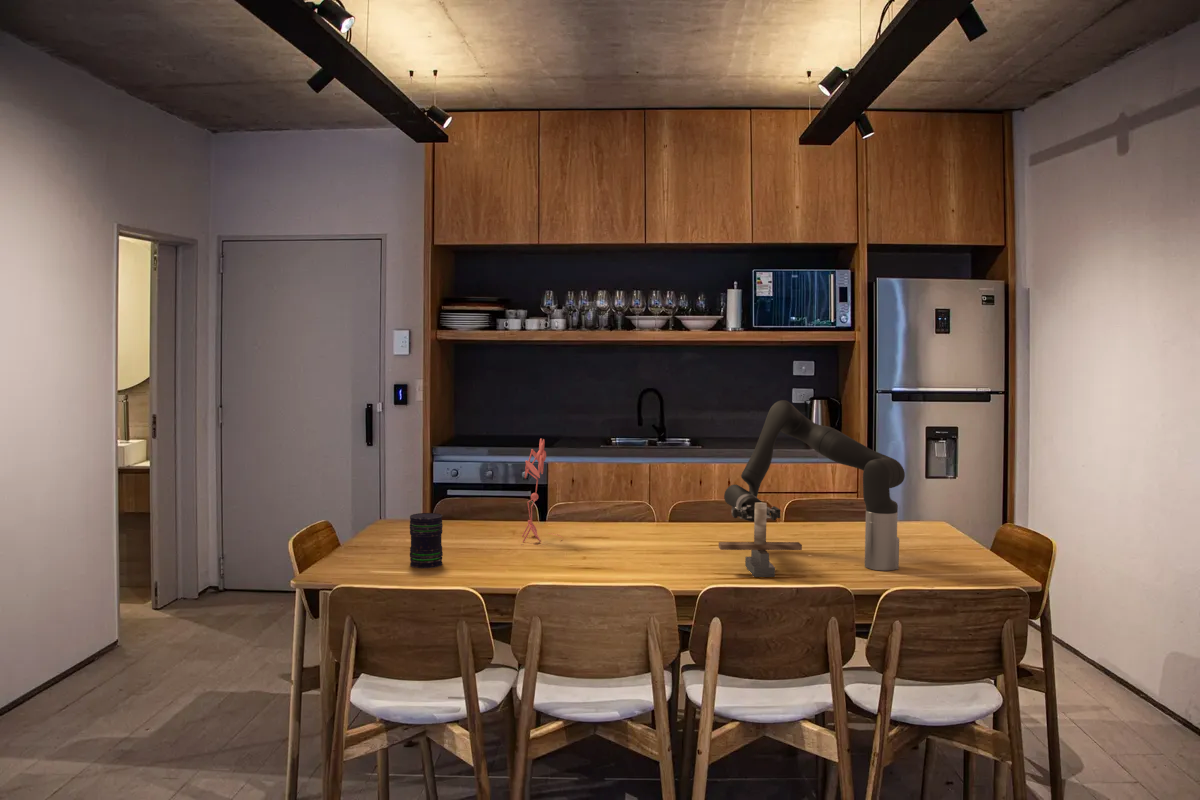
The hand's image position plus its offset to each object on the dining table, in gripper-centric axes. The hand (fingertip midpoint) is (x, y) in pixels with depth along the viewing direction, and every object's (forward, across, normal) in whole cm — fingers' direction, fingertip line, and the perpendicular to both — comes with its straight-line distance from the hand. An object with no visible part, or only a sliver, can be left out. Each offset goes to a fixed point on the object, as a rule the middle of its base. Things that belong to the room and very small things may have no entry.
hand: (760, 516), depth 273 cm
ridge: (0, 0, +16) cm, 17 cm away
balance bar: (0, 0, +10) cm, 10 cm away
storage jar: (-9, -100, +17) cm, 102 cm away
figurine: (-46, -66, +17) cm, 82 cm away
